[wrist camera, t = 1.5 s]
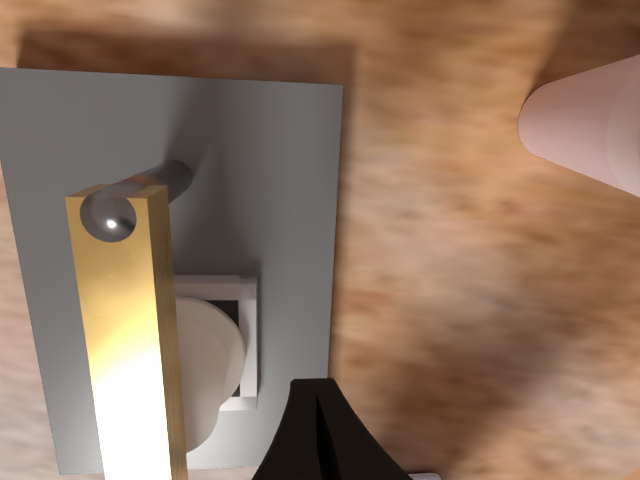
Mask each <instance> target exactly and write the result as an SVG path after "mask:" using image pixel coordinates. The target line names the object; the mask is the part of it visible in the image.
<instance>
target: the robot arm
mask: <svg viewBox="0 0 640 480" xmlns="http://www.w3.org/2000/svg"><path fill="white" fill-rule="evenodd" d="M252 480H441V478H440V476H439V475H438V474H437V473H419V474H407V473H406V472H405V471H404V470H403V469H402V468H401V467H400V466H399V465H398V464H397V463H396V462H395V461H394V460H393V459H392V458H391V457H390V456H389V455H388V454H387V453H386V452H385V450H384V449H383V448H382V447H381V446H380V445H379V444H378V442H377V441H376V440H375V439H374V437H373V436H372V435H371V434H370V433H369V431H368V430H367V429H366V427H365V426H364V425H363V423H362V422H361V421H360V419H359V418H358V416H357V415H356V414H355V412H354V411H353V409H352V408H351V406H350V405H349V403H348V402H347V400H346V399H345V397H344V395H343V394H342V392H341V390H340V388H339V387H338V385H337V383H336V381H335V380H334V379H333V378H310V379H293V380H292V381H291V382H290V391H289V397H288V401H287V404H286V408H285V411H284V413H283V416H282V419H281V422H280V424H279V427H278V429H277V432H276V434H275V436H274V438H273V441H272V443H271V445H270V447H269V449H268V451H267V453H266V455H265V457H264V459H263V461H262V463H261V464H260V466H259V468H258V470H257V472H256V473H255V475H254V477H253V478H252Z"/></svg>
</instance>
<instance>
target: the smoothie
mask: <svg viewBox="0 0 640 480" xmlns="http://www.w3.org/2000/svg"><path fill="white" fill-rule="evenodd" d="M518 132H519V137H520V140H521V142H522V144H523V145H524V147H525V148H526V149H527V150H528V151H529V152H530V153H532V154H534V155H536V156H538V157H541V158H543V159H546V160H548V161H551V162H553V163H556V164H558V165H561V166H563V167H566V168H568V169H571V170H573V171H576V172H578V173H581V174H583V175H586V176H588V177H591V178H593V179H596V180H598V181H601V182H603V183H606V184H608V185H611V186H613V187H616V188H618V189H621V190H623V191H626V192H628V193H631V194H633V195H635V196H638V197H640V54H639V55H636V56H633V57H630V58H626V59H623V60H620V61H617V62H614V63H610V64H607V65H604V66H601V67H598V68H594V69H591V70H588V71H585V72H582V73H578V74H575V75H572V76H569V77H566V78H562V79H559V80H556V81H553V82H550V83H547V84H545V85H543V86H541V87H539V88H538V89H536V90H535V91H534V92H533V93H532V94H531V95H530V96H529V97H528V99H527V100H526V102H525V103H524V105H523V107H522V109H521V112H520V115H519V120H518Z"/></svg>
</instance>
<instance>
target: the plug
mask: <svg viewBox="0 0 640 480" xmlns="http://www.w3.org/2000/svg"><path fill="white" fill-rule="evenodd" d="M175 300H176V314H177V328H178V343H179V357H180V371H181V386H182V400H183V414H184V429H185V443H186V453H188V452H191V451H192V450H194V449H196V448H197V447H199V446H200V445H201V444H203V443H204V442H205V441H206V440H207V439H208V437H209V436H210V435H211V433H212V432H213V430H214V428H215V425H216V423H217V418H218V414H219V409H220V406H221V405H222V404H223V403H225V402H226V401H227V400H228V399H229V398H230V397H231V396H232V395H233V393H234V392H235V391H236V389H237V387H238V385H239V384H240V381H241V378H242V375H243V370H244V363H245V344H244V340H243V337H242V335H241V332H240V330H239V329H238V327H237V325H236V324H235V323H234V321H233V320H232V319H231V318H230V317H229V316H228V315H227V314H226V313H225V312H223V311H222V310H221V309H219V308H218V307H216V306H214V305H213V304H211V303H208V302H206V301H203V300H200V299H197V298H192V297H185V296H175ZM95 414H96V408H95ZM96 418H97V415H96Z"/></svg>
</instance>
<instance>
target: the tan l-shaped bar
mask: <svg viewBox="0 0 640 480" xmlns="http://www.w3.org/2000/svg"><path fill="white" fill-rule="evenodd" d="M191 183H192V173H191V171H190V169H189V167H188V166H187V165H186V164H184V163H183V162H181V161H177V160H170V161H167V162H165V163H162V164H160V165H158V166H155V167H153V168H150V169H148V170H146V171H143V172H141V173H138V174H136V175H133V176H131V177H129V178H126V179H124V180H121V181H119V182H117V183H114V184H97V185H94V186H92V187H89V188H86V189H84V190H81V191H78V192H76V193H73V194H71V195H68V196H65V202H66V209H67V216H68V223H69V230H70V237H71V243H72V250H73V257H74V264H75V271H76V278H77V285H78V291H79V298H80V305H81V312H82V319H83V326H84V333H85V339H86V346H87V353H88V360H89V367H90V374H91V380H92V387H93V394H94V401H95V408H96V415H97V422H98V428H99V435H100V442H101V449H102V456H103V463H104V470H105V476H106V480H188V472H187V457H186V443H185V429H184V414H183V400H182V386H181V371H180V357H179V343H178V328H177V314H176V300H175V285H174V271H173V257H172V242H171V228H170V213H169V204H170V203H171V202H172V201H174V200H175V199H176V198H177V197H179V196H180V195H181V194H182V193H184V192H185V191H186V190H187V189H188V188H189V187H190V186H191Z"/></svg>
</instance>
